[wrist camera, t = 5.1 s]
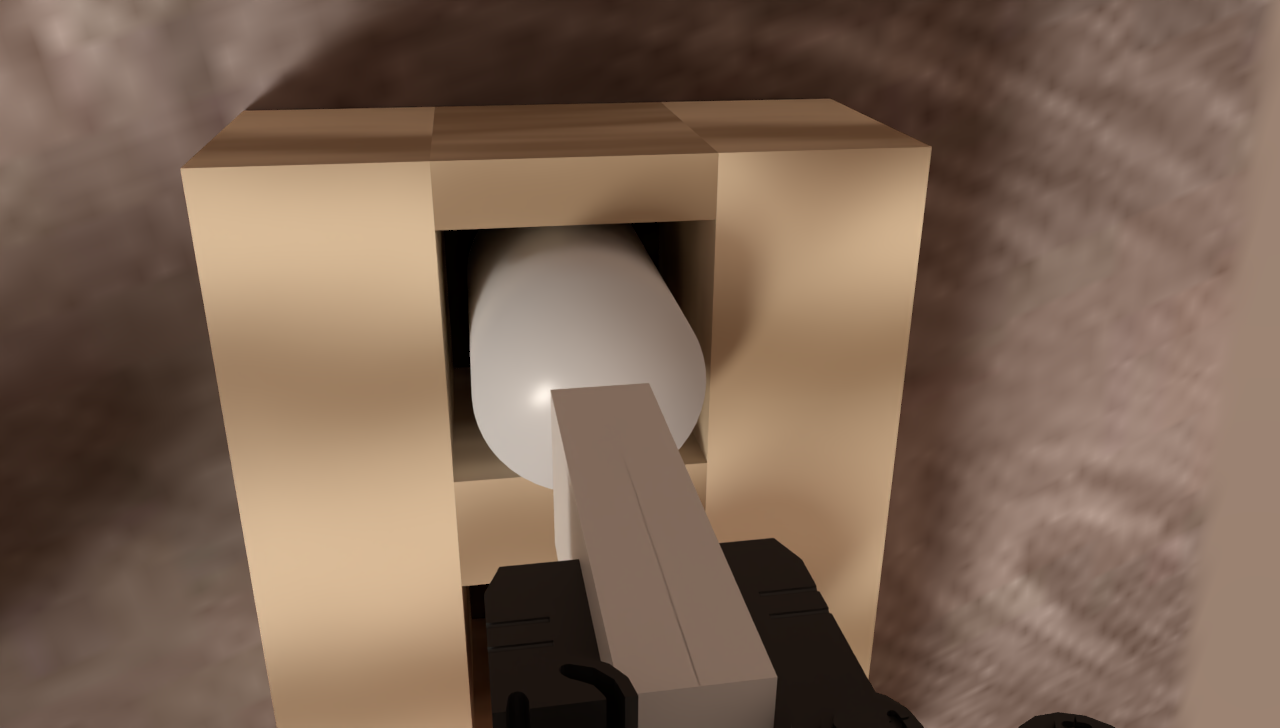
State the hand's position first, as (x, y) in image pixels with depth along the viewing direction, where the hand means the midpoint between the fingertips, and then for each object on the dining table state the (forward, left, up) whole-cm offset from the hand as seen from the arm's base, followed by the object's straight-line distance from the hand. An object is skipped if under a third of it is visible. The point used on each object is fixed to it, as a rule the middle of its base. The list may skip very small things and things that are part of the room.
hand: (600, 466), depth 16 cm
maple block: (+8, 0, -11) cm, 14 cm away
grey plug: (0, 0, -11) cm, 11 cm away
